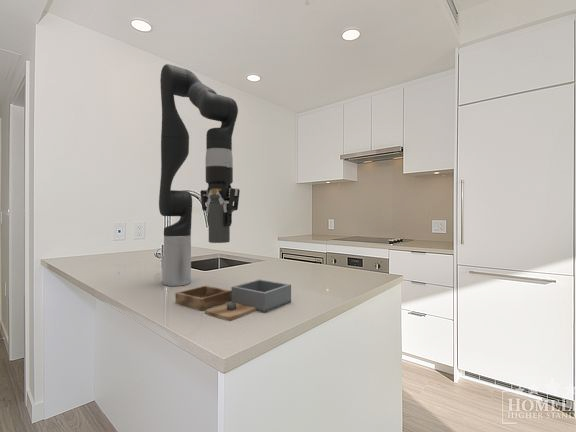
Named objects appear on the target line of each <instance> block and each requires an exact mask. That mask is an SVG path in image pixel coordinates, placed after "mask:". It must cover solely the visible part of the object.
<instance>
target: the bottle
mask: <svg viewBox="0 0 576 432" xmlns="http://www.w3.org/2000/svg"><path fill="white" fill-rule="evenodd" d="M218 190H220V191H221V189H218ZM211 193H212V195H210V199H212V203H210V204H209V225H208V243H210V244H226V243H230V241H231V239H230V238H231V237H230V236H231V235H230V233H231V231H230V230H231V228H230V227H231V226H224V225H223V213H225V212H224V210H223V206H222V205H220V202H219V198H220V197H219V195H216V193H217V189H211ZM227 208H228V205H227Z"/></svg>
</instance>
